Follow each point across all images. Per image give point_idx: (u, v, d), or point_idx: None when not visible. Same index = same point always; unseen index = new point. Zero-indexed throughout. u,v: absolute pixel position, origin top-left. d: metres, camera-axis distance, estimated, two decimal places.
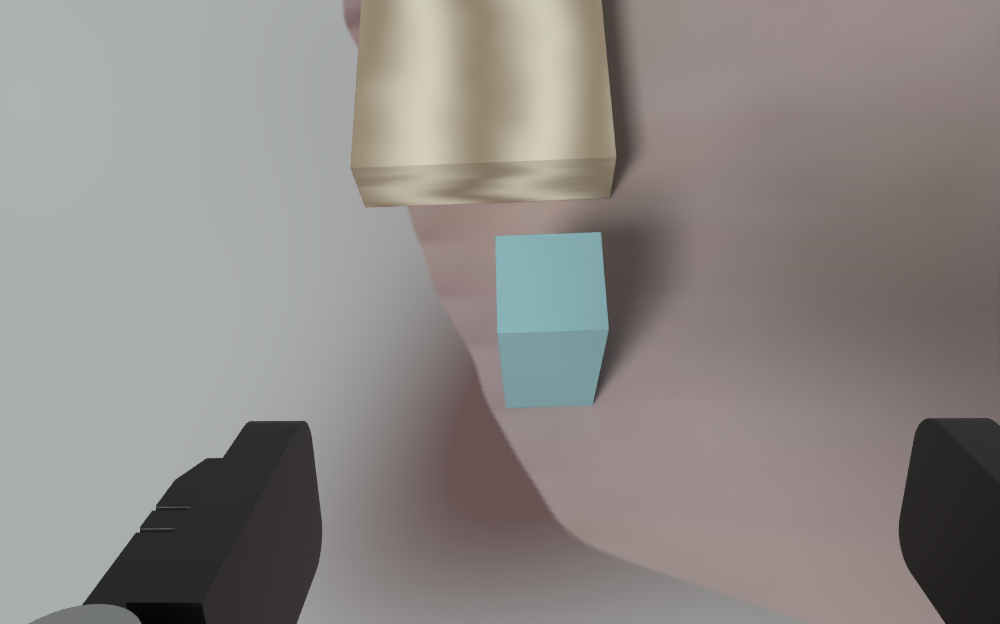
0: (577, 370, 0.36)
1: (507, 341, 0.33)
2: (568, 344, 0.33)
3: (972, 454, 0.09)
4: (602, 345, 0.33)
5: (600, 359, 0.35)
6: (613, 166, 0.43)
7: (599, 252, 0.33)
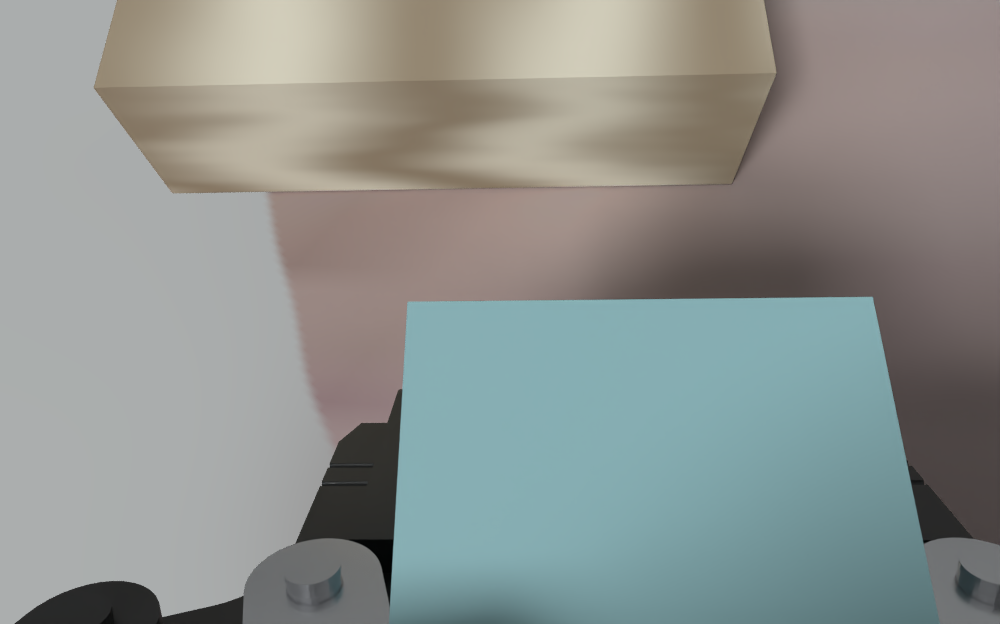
0: None
1: None
2: None
3: None
4: None
5: None
6: (761, 100, 0.17)
7: (878, 393, 0.07)
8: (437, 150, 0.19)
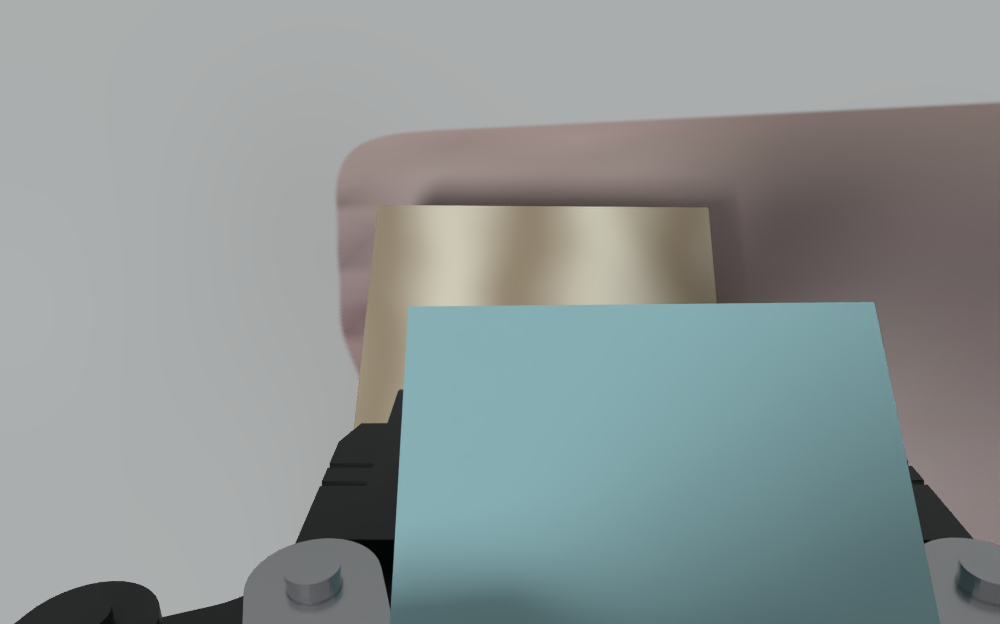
0: None
1: None
2: None
3: None
4: None
5: None
6: None
7: (880, 399, 0.07)
8: None
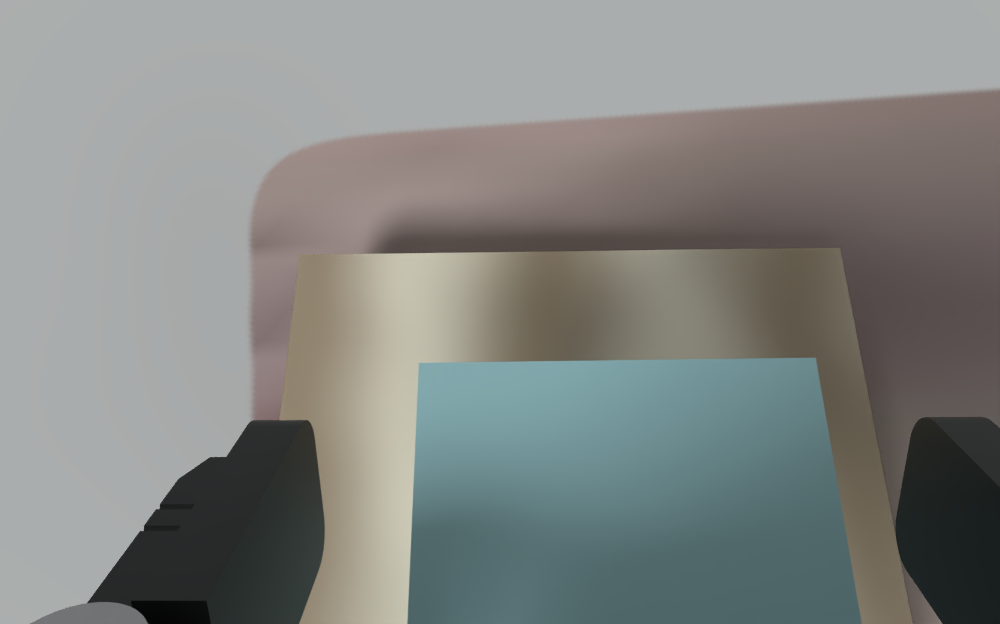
0: None
1: None
2: None
3: (967, 453, 0.09)
4: None
5: None
6: None
7: (818, 442, 0.08)
8: None
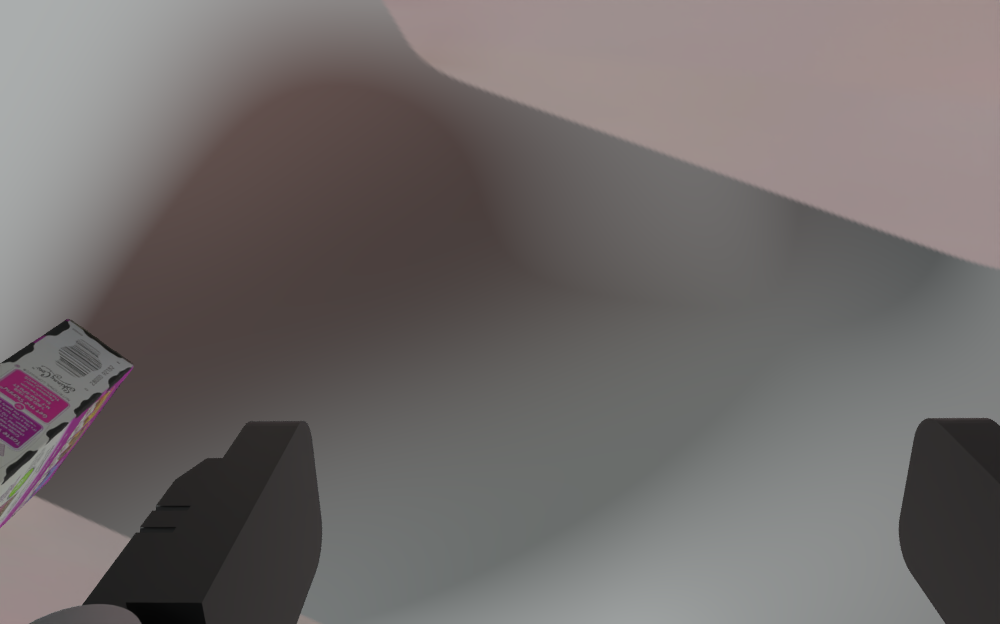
0: None
1: None
2: None
3: (972, 454, 0.09)
4: None
5: None
6: None
7: None
8: None
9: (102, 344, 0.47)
